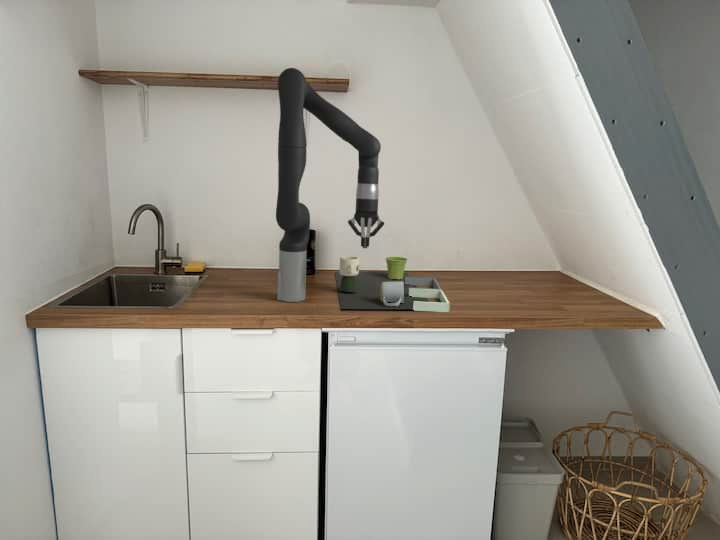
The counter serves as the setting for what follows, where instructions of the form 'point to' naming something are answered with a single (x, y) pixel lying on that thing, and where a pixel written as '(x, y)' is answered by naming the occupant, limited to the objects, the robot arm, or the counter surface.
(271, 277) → the counter surface
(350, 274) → the character mug
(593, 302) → the counter surface
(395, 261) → the plant pot
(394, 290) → the ceramic mug
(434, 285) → the corral charcoal
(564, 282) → the counter surface
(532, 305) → the counter surface
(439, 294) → the corral green
